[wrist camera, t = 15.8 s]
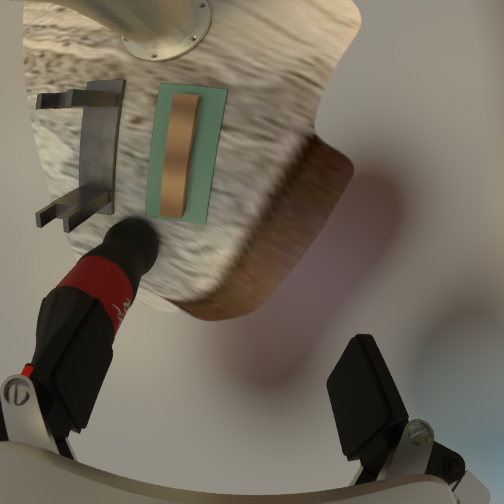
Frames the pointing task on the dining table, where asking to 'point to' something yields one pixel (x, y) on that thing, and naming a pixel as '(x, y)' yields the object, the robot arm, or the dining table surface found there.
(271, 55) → the dining table surface
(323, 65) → the dining table surface
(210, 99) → the rubber mat
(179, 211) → the walnut rail
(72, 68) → the dining table surface
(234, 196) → the dining table surface
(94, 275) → the cola bottle
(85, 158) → the rail stand
